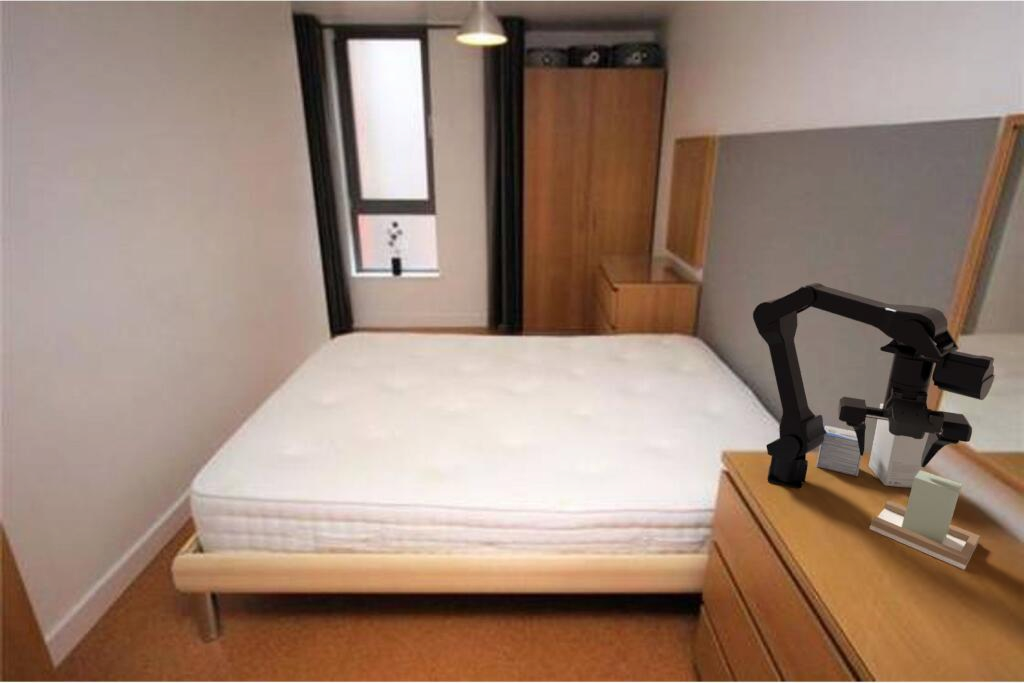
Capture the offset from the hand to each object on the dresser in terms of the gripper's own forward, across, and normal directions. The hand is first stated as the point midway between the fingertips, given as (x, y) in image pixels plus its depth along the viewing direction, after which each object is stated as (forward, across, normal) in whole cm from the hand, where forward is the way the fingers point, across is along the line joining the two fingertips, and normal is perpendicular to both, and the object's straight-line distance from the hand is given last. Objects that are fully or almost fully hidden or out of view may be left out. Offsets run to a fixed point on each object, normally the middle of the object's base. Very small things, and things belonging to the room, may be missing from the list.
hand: (891, 460), depth 97 cm
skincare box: (+13, +4, +19) cm, 24 cm away
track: (+13, +7, -1) cm, 15 cm away
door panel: (+13, +7, -1) cm, 14 cm away
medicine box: (+13, -6, +18) cm, 23 cm away
